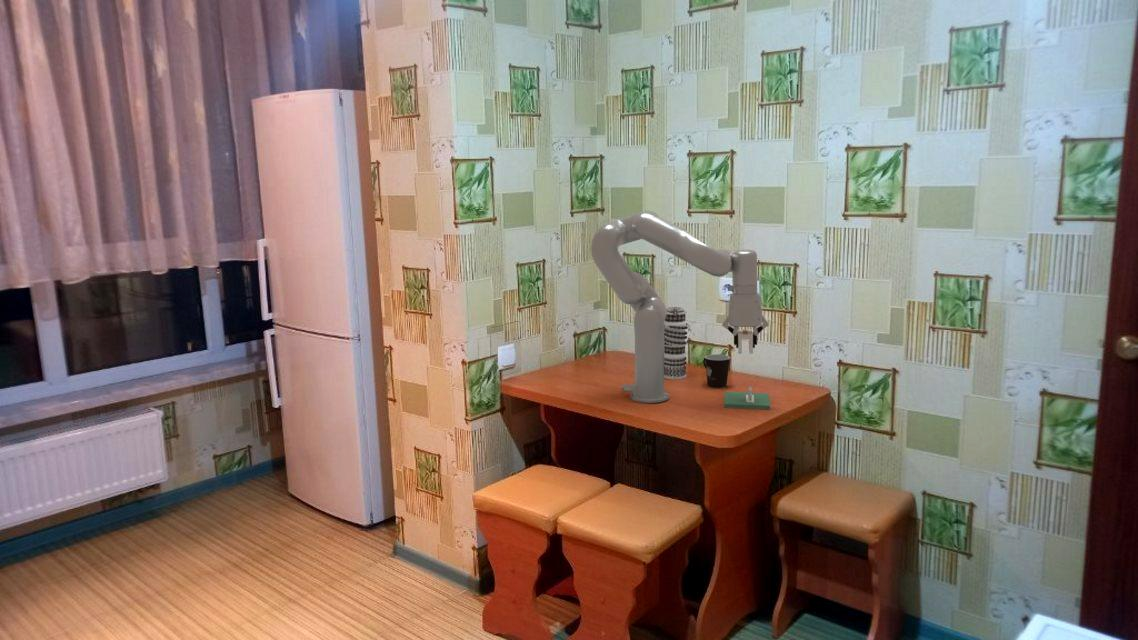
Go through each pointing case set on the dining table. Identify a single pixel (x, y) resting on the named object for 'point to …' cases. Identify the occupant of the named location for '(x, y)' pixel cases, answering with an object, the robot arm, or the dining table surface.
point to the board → (747, 400)
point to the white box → (745, 335)
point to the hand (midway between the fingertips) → (745, 346)
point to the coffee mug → (717, 370)
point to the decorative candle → (675, 343)
